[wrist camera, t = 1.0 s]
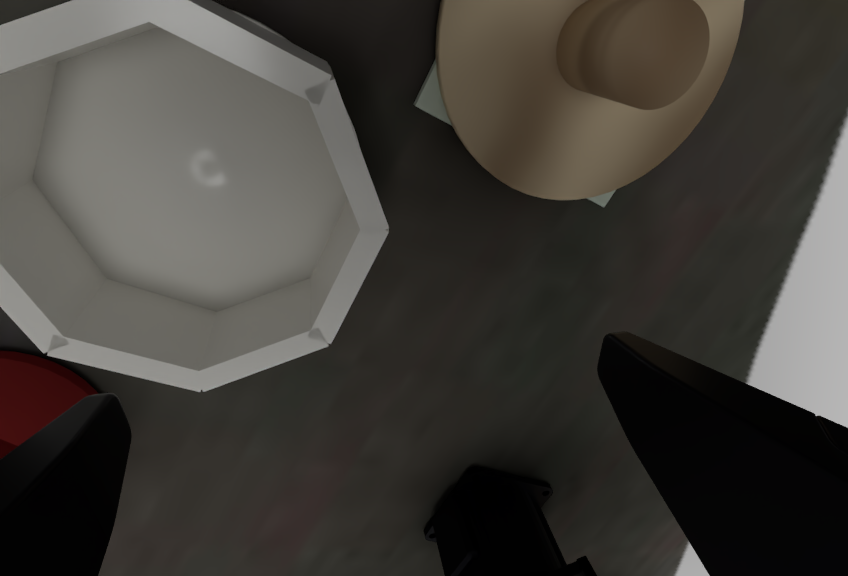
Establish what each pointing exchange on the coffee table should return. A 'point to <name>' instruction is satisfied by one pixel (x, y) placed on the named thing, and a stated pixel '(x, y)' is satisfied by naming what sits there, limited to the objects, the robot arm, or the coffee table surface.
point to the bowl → (176, 191)
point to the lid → (580, 85)
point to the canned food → (34, 396)
